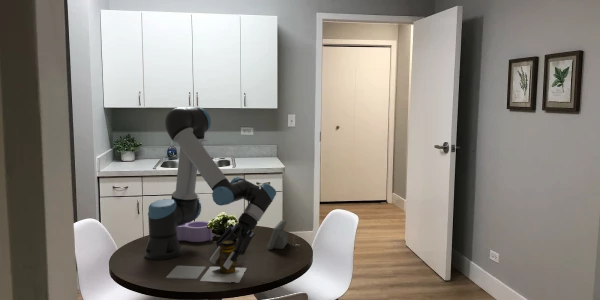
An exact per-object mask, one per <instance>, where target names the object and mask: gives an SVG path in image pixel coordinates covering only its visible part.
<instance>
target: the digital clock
mask: <svg viewBox="0 0 600 300" xmlns="http://www.w3.org/2000/svg"><path fill="white" fill-rule="evenodd" d="M286 225H287V221H286V220H285V219H281V220H280V221H279V222H278V223H277V224H276V226H275V227H274V228H273V231H272V233H271V235H270V239H269V241H268V243H267V246H266V248H267V249H268V250H273V249H283V250H284V248H285V247H286V246H287V244H288V242H289V241H288V233H287V232H286V230H285V227H286Z"/></svg>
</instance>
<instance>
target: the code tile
mask: <svg viewBox="0 0 600 300" xmlns="http://www.w3.org/2000/svg"><path fill="white" fill-rule="evenodd" d="M217 269H220V266H209V268H208V269H207V271H206V272H205V273H204V274H203V276H202V277H201V278H200V280H199V282H211V283H213V282H214V283H231V282H235V283H237V284H240V282H241V279H242V278H243V276H244V275H245V273H244V272H246V271H247V269H248V268H247V267H235V269H236V270H238V271H239V272H236V273H233V274H229V275H226V276H220V275H217V274H215V273H214V272H212V271H213V270H217ZM235 283H234V284H235Z"/></svg>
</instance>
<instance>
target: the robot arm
mask: <svg viewBox="0 0 600 300" xmlns="http://www.w3.org/2000/svg"><path fill="white" fill-rule="evenodd" d="M164 124H165V130H166V132H167V135H168V136H169V138H170V139H171V140H172V142H173V144H174V143H175V144H178V146H179V153H178V163H177V175H176V185H175V191H173V192H172V193H171V198H163V199H158V200H156V201H155V200H154V201H153V202H151V203H150V205H148V213H147V216H148V217H147V218H148V241H147V244H146V247H145V251H144V252H145V253H144V255H145V258H147V259H149V260H155V261H161V260H170V259H174V258H177V257H179V256H180V255H182V247H181V246H182V245H181V243H180V240H179V241H178V238H177V226H180V225H183V224H186V223H190V222H194V221H196V220H197V219H198V218H199V216H200V215H201V212H202V204H201V202H200V200H199V198H198V197H199V195H198V194H197V193H196V186H197V176H198V173H199V174H200V175H201V177H202V179H203V180H204V181H205V182H206V184H207V185H208V187H209V188H210V189H211V191H212V194H211V197H212V201H213V202H214V203H215V204H216V205H217V206H227V205H231V204H233V203H235V202H237V201H241V200H245V201H246V202H249V203H248V204H247V206H246V207H245V208H244V209H243V212H242V213H241V214H240V215H239V217H238V219H237V221H238V222H237V223H236V224H235V225H234V224H233V223H231V224H229V226H228V228H227V229H226V230H225V231H224V232H223V234H222V235H221V236H220V237H219V238H218V239H217V241H216V244H217V247H216V248H215V250H214V252H213V253H212V255H211V257H210V258H209V261H210V262H211V263H212V264H216V263H217V261H218V260H219V259H220V249H221V242H222V241H226V240H231V241H234V240H235V239H237V242H236V245H235V247H234V248H235V250H233V251H234V252H233V251H232V253H231V254H230V256H229V257H228V259H227V260H226V262H225V263H224V265H223V266H224V267H225V268H226V269H229V268H230V266H231V265H232V263H233V262H234V261H235V262H236V261H237V259H238V257H239V256H240V255H242V256H244V255H245V254H246V251H247V249H248V247H249V245H250V243H251V242H252V239H253V237H254V236H255V233H254V232H253V230H254V229H255V228H256V226H257V225H258V222H260V220H261V218H262V217H263V216H264V214H265V212H266V211H267V209H269V207H270V205H271V204H272V202H273V201H274V199H275V197H276V195H277V191H276V189H275V188H274V186H271V185H270V184H269V183H266V182H264V183H262V184H261V185H256V184H254V183H252V182H250V181H248V180H247V179H245V178H242V177H239V176H235V177H234V178H233V179H231V180H230V181H229V179H228V178H227V177H226V175H225V174H224V173H223V172H222V170H221V169H220V167H219V166H218V164H216V162H215V160H214V159H213V158H212V157H211V155H210V154H209V152H208V151H207V150H206V149H205V147H204V146H203V144H202V141H203V140H204V139H205V135H206V134H205V133H206V132H207V131H208V130H210V128H211V125H212V120H211V116H210V113H208V111H207V110H206V109H205V108H203V107H199V106H186V107H185V106H184V107H182V106H180V107H174V108H172V109H171V110H169V112H168V113H167V114H166V116H165V122H164Z"/></svg>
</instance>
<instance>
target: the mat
mask: <svg viewBox="0 0 600 300" xmlns="http://www.w3.org/2000/svg"><path fill="white" fill-rule="evenodd" d="M206 268H207V267H206V266H197V265H195V266H193V265H176V266H175V267H174V268H173V269H172V270H171V271H170V272H169V273H168V274H167V276H166V277H165V278H166V279H179V280H180V279H182V280H184V279H185V280H198V279H199V278H200V276H201V275H202V274H203V272H204V271H205V270H206Z"/></svg>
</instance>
